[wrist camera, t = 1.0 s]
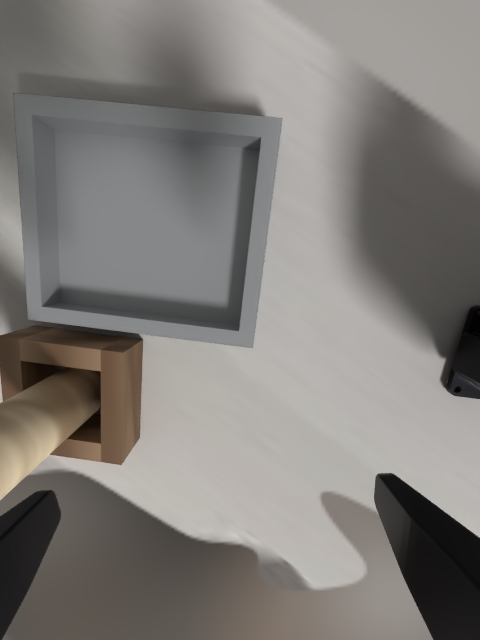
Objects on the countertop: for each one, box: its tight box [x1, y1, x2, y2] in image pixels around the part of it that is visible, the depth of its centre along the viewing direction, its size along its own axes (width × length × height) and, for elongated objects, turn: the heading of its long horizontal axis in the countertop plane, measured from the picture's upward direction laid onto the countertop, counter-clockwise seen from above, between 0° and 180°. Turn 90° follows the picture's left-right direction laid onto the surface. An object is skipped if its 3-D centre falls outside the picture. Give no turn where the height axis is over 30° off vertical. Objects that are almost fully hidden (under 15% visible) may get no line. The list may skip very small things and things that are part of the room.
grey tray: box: [13, 93, 282, 348], centre depth 17 cm, size 15×13×2 cm
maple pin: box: [0, 367, 101, 500], centre depth 15 cm, size 4×4×12 cm
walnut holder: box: [0, 326, 143, 465], centre depth 19 cm, size 8×8×3 cm
